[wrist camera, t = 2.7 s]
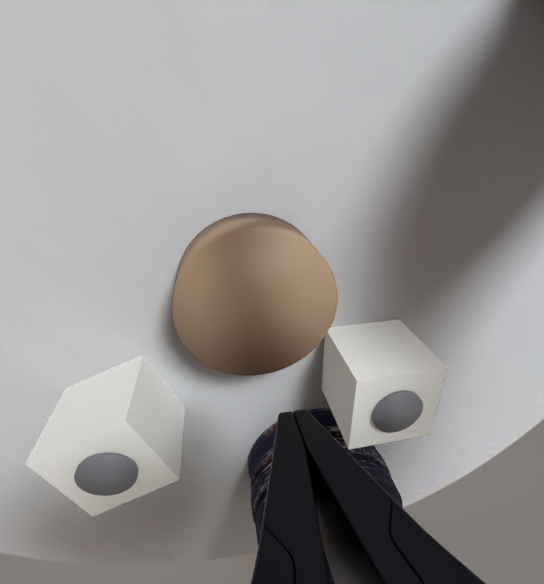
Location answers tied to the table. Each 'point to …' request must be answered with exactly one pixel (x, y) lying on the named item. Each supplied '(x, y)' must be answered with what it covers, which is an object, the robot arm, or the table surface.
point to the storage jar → (364, 455)
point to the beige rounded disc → (252, 295)
